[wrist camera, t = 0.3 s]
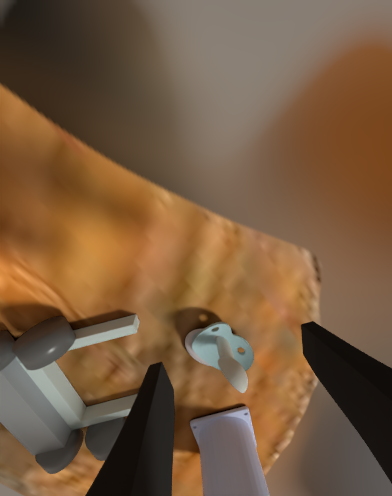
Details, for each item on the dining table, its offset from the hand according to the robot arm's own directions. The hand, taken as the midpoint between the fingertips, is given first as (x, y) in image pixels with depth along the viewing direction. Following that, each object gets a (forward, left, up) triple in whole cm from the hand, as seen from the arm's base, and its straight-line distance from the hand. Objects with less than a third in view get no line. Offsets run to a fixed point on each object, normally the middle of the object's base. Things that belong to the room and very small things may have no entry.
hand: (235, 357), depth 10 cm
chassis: (-9, +15, -9) cm, 20 cm away
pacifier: (-9, +1, -10) cm, 13 cm away
